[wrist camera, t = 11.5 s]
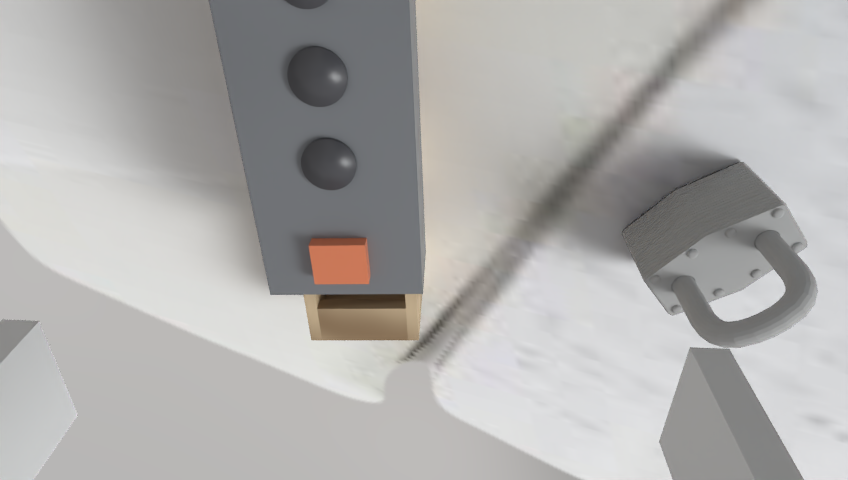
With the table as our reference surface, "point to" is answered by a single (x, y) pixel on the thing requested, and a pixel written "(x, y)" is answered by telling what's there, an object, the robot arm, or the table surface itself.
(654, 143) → the table surface
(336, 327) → the keyhole rail
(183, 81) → the table surface
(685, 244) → the padlock
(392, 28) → the power strip
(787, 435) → the table surface
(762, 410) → the robot arm
